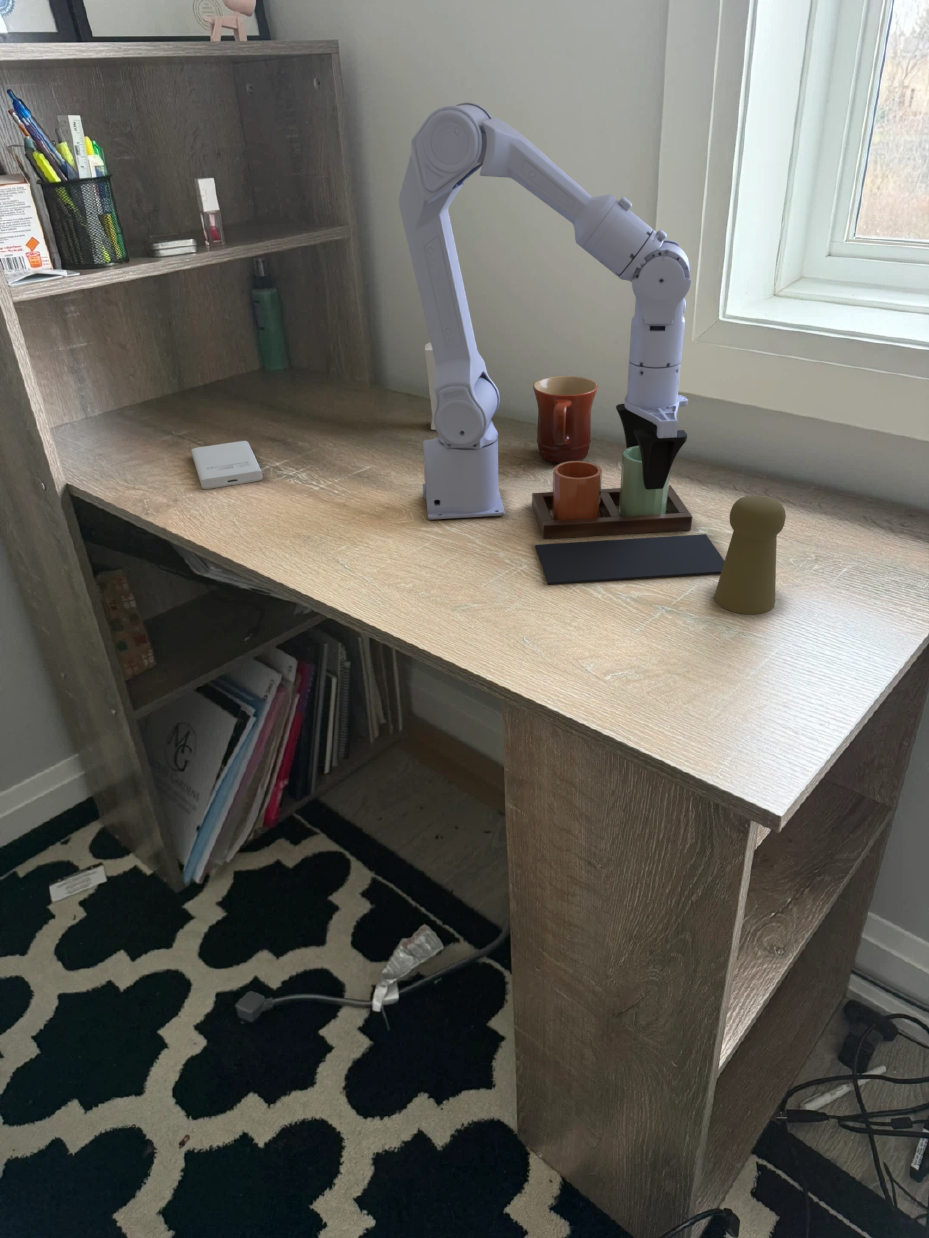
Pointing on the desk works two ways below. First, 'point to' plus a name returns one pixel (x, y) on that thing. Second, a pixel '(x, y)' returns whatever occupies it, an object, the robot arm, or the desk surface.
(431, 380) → the perfume bottle
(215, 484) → the hard drive
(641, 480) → the cup
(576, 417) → the mug
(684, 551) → the desk mat
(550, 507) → the holder
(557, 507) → the terracotta cup
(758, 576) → the olive pepper mill
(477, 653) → the desk surface
